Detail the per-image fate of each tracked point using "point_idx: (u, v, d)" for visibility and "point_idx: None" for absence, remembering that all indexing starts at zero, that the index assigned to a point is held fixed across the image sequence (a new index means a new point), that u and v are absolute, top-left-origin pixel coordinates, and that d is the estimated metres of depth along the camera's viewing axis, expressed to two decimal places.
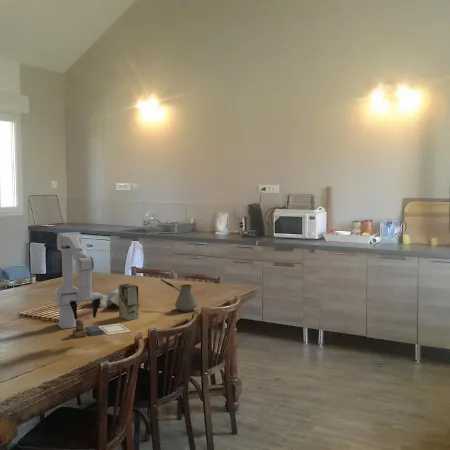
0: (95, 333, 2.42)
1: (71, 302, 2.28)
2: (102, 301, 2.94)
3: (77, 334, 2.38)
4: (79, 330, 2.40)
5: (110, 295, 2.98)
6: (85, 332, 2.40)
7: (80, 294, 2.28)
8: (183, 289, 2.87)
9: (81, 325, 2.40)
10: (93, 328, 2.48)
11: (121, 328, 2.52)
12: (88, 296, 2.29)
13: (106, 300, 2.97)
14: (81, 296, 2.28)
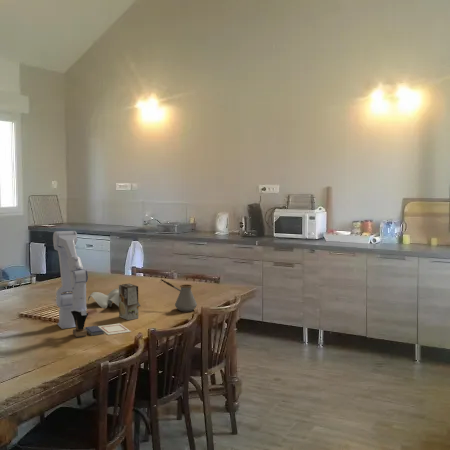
0: (95, 333, 2.42)
1: None
2: (103, 301, 2.94)
3: (77, 334, 2.38)
4: (79, 330, 2.40)
5: (111, 295, 2.98)
6: (85, 332, 2.40)
7: None
8: (183, 289, 2.87)
9: None
10: (93, 328, 2.48)
11: (121, 328, 2.52)
12: (73, 307, 2.39)
13: (107, 300, 2.96)
14: None
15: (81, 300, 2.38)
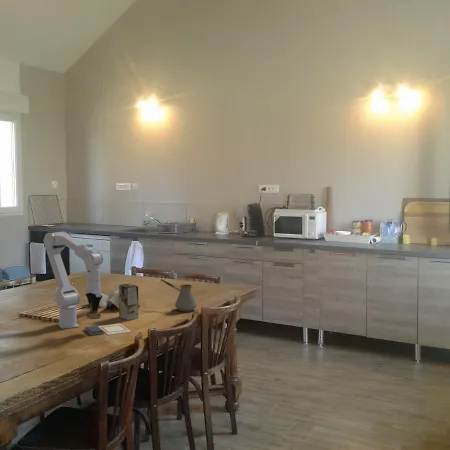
0: (95, 333, 2.42)
1: None
2: (102, 301, 2.94)
3: (91, 315, 2.43)
4: (93, 312, 2.45)
5: (111, 295, 2.97)
6: (99, 314, 2.45)
7: None
8: (183, 289, 2.87)
9: None
10: (93, 328, 2.48)
11: (121, 328, 2.52)
12: (88, 289, 2.43)
13: (106, 300, 2.96)
14: None
15: (95, 282, 2.43)
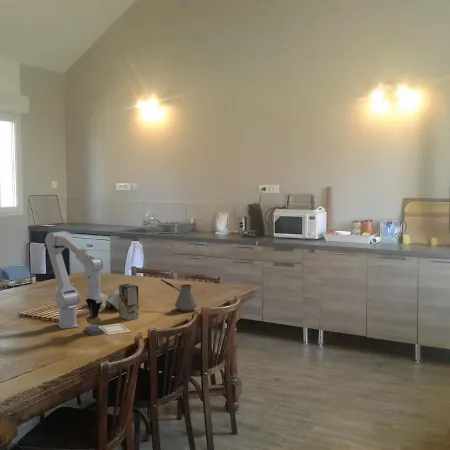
0: (95, 333, 2.42)
1: None
2: None
3: (91, 321, 2.43)
4: (93, 317, 2.45)
5: (110, 296, 2.96)
6: (99, 319, 2.45)
7: None
8: (183, 289, 2.87)
9: None
10: (93, 328, 2.48)
11: (121, 328, 2.52)
12: (88, 295, 2.43)
13: (106, 301, 2.95)
14: None
15: (95, 288, 2.43)
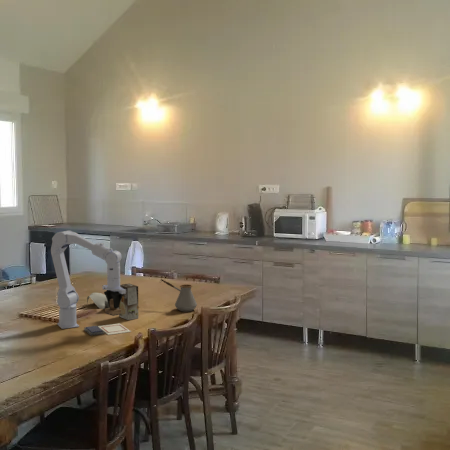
0: (95, 333, 2.42)
1: (104, 289, 2.53)
2: (101, 302, 2.93)
3: (113, 312, 2.47)
4: (114, 308, 2.49)
5: None
6: (120, 310, 2.50)
7: None
8: (183, 289, 2.87)
9: None
10: (93, 328, 2.48)
11: (121, 328, 2.52)
12: (110, 287, 2.47)
13: (105, 301, 2.94)
14: (107, 286, 2.50)
15: (117, 280, 2.48)
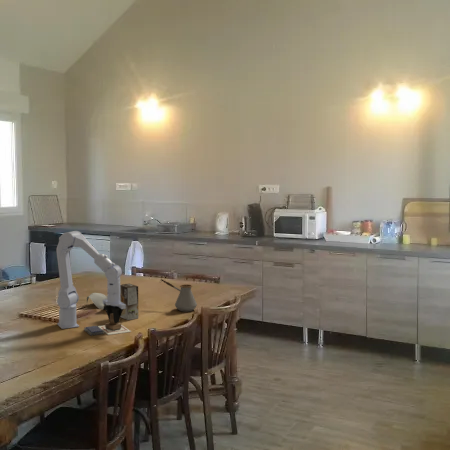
0: (95, 333, 2.42)
1: (105, 303, 2.54)
2: (100, 302, 2.92)
3: (114, 327, 2.48)
4: (114, 323, 2.50)
5: None
6: (120, 325, 2.50)
7: None
8: (183, 289, 2.87)
9: None
10: (93, 328, 2.48)
11: (121, 328, 2.52)
12: (110, 302, 2.48)
13: None
14: None
15: (118, 295, 2.49)
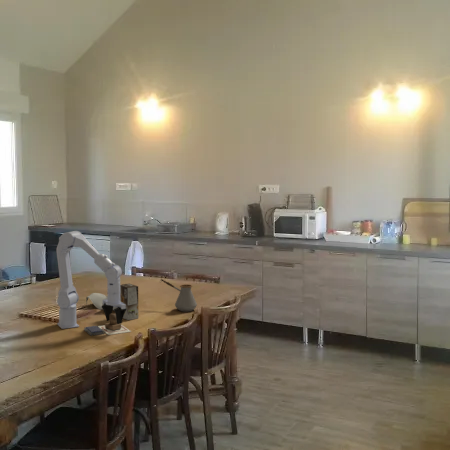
0: (95, 333, 2.42)
1: (105, 304, 2.54)
2: (100, 302, 2.91)
3: (113, 327, 2.48)
4: (114, 323, 2.50)
5: None
6: (120, 325, 2.50)
7: None
8: (183, 289, 2.87)
9: (115, 319, 2.50)
10: (93, 328, 2.48)
11: (121, 328, 2.52)
12: (110, 302, 2.48)
13: None
14: None
15: (118, 295, 2.49)
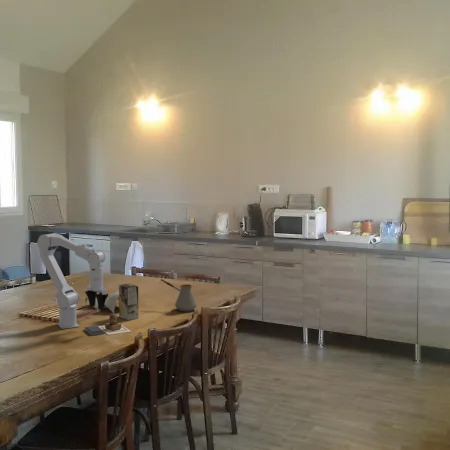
0: (95, 333, 2.42)
1: (88, 289, 2.54)
2: None
3: (113, 327, 2.48)
4: (114, 323, 2.50)
5: (108, 297, 2.93)
6: (120, 325, 2.50)
7: None
8: (183, 289, 2.87)
9: (115, 319, 2.50)
10: (93, 328, 2.48)
11: (121, 328, 2.52)
12: (92, 287, 2.48)
13: None
14: None
15: (99, 280, 2.48)
